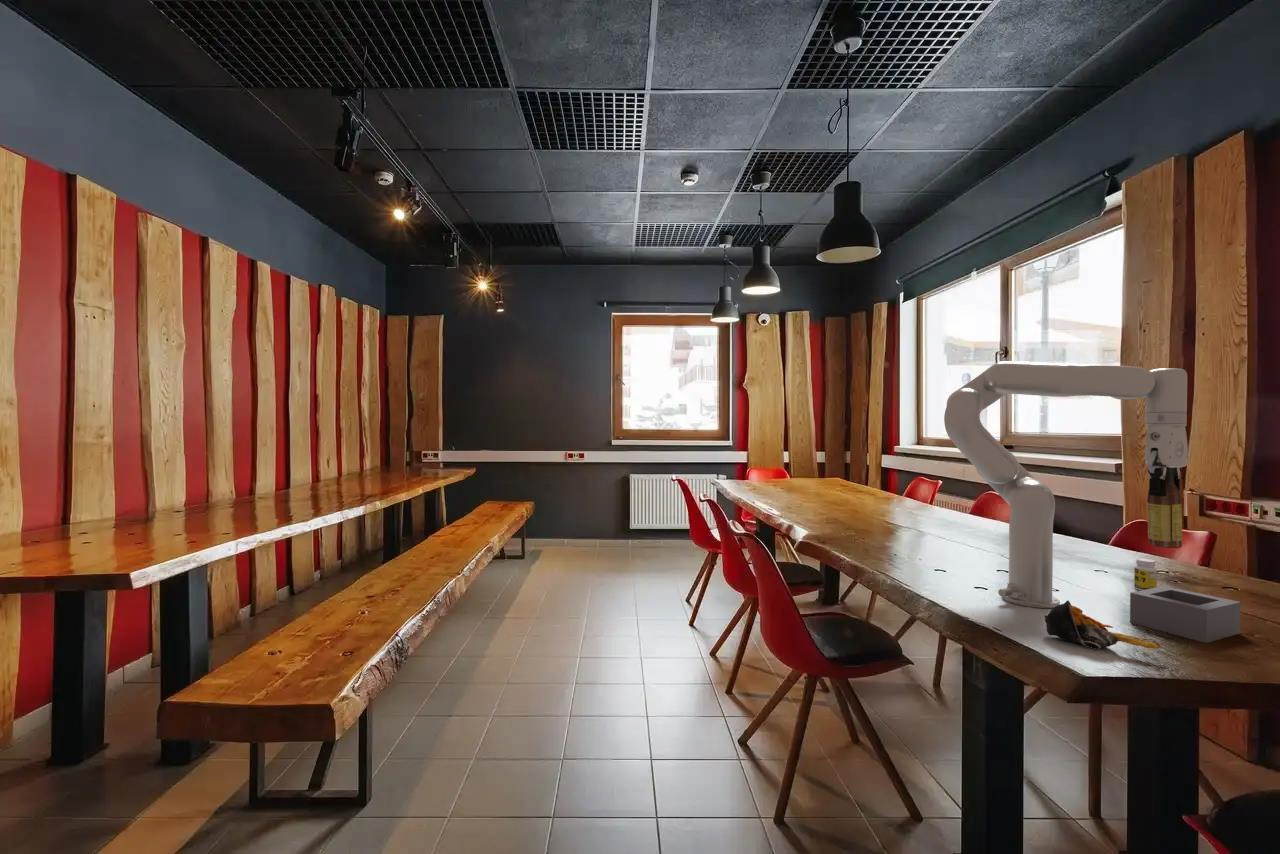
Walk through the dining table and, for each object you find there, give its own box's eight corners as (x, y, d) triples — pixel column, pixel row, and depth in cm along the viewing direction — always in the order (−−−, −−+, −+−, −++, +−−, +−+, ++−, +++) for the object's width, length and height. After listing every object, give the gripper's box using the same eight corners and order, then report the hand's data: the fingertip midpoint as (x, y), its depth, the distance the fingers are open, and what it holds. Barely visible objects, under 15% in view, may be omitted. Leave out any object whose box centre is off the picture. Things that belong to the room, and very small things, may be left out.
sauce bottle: (1174, 545, 146) (1176, 464, 146) (1187, 550, 140) (1189, 465, 140) (1141, 542, 148) (1143, 462, 148) (1152, 547, 142) (1154, 464, 142)
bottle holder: (1206, 643, 126) (1206, 610, 126) (1130, 622, 139) (1130, 592, 139) (1240, 633, 132) (1240, 602, 132) (1163, 614, 145) (1164, 585, 144)
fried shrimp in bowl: (1042, 607, 135) (1140, 595, 125) (1059, 659, 130) (1163, 650, 120) (1034, 601, 129) (1137, 587, 119) (1052, 655, 124) (1161, 645, 114)
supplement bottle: (1129, 587, 168) (1129, 558, 168) (1145, 587, 168) (1145, 557, 168) (1145, 592, 163) (1145, 562, 163) (1161, 592, 164) (1161, 561, 164)
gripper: (1166, 419, 136) (1165, 498, 137) (1202, 420, 144) (1201, 495, 144) (1128, 419, 143) (1127, 495, 143) (1164, 420, 151) (1163, 491, 151)
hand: (1164, 494), depth 144 cm, fingers closed on sauce bottle, 5 cm apart
